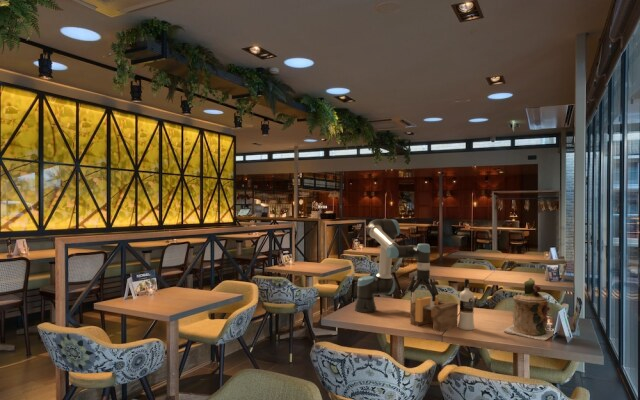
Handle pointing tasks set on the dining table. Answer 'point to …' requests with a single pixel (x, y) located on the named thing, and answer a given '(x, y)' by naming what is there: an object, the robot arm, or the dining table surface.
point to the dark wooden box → (438, 315)
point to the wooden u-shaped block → (419, 307)
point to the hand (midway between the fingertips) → (422, 304)
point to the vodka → (466, 308)
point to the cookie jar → (530, 314)
